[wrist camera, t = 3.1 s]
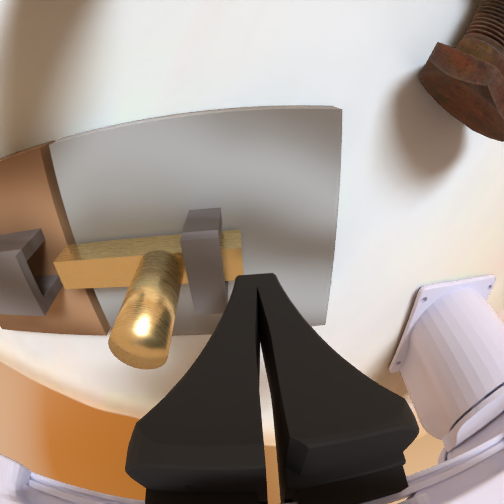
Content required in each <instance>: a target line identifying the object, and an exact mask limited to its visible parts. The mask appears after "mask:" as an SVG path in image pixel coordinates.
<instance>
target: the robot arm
mask: <svg viewBox="0 0 504 504" xmlns="http://www.w3.org/2000/svg"><path fill="white" fill-rule="evenodd" d="M495 280H496V278H495V276H494V275H492V274H491V275H486V276H481V277H475V278H469V279H463V280H458V281H451V282H445V283H439V284H433V285H426V286H423V287H421V288H420V289H419V291H418V294H417V297H416V300H415V303H414V306H413V309H412V311H411V314H410V317H409V320H408V322H407V325H406V328H405V330H404V333H403V336H402V338H401V341H400V343H399V346H398V348H397V350H396V353H395V355H394V358H393V360H392V362H391V364H390V367H389V371H390V373H396V372H400V374H401V376H402V379H403V381H404V383H405V386H406V388H407V391H408V393H409V396H410V398H411V400H412V403H413V406H414V408H415V411H416V413H417V416H418V418H419V421H420V423H421V425H422V426H423V428H424V429H425V430H426V431H427V432H428V433H429V434H430V435H432V436H433V437H435V438H437V439H440V440H443V443H444V446H445V448H443V450H442V451H441V453H440V456H439V459H438V465H436V466H433V467H431V468H428V469H426V470H423V471H420V472H418V473H415V474H412V475H409V476H406V475H405V472H404V469H403V465H404V464H405V462H406V460H405V457H404V454H403V451H404V450H405V449H406V448H407V447H408V446H409V445H410V444H411V443H412V442H413V441H414V440H415V438H416V437H417V435H418V433H419V427H418V424H417V421H416V419H415V416H414V414H413V412H412V410H411V409H410V407H409V405H408V403H407V402H406V400H405V399H404V398H402V397H401V396H399V395H397V394H395V393H393V392H392V391H390V390H388V389H386V388H384V387H383V386H381V385H379V384H378V383H376V382H375V381H373V380H372V379H370V378H369V377H367V376H366V375H364V374H363V373H362V372H360V371H359V370H358V369H356V368H355V367H354V366H353V365H351V364H350V363H349V362H347V361H346V360H345V359H344V358H342V357H341V356H340V355H339V354H338V353H337V352H336V351H334V350H333V349H332V348H331V347H330V346H329V345H328V344H327V343H326V342H325V341H324V340H323V339H322V338H321V337H320V336H319V335H318V334H317V333H316V332H315V330H314V329H313V328H312V327H311V326H310V325H309V324H308V322H307V321H306V320H305V319H304V318H303V316H302V315H301V314H300V312H299V311H298V310H297V308H296V307H295V306H294V304H293V303H292V302H291V300H290V299H289V297H288V296H287V294H286V292H285V291H284V289H283V288H282V286H281V284H280V282H279V280H278V278H277V276H276V275H275V274H274V273H264V274H250V275H238V276H237V277H236V278H235V283H234V287H233V290H232V293H231V296H230V299H229V301H228V304H227V306H226V308H225V311H224V313H223V315H222V317H221V319H220V321H219V323H218V325H217V327H216V329H215V331H214V333H213V335H212V336H211V338H210V340H209V341H208V343H207V345H206V346H205V348H204V349H203V351H202V352H201V354H200V355H199V357H198V358H197V359H196V361H195V362H194V363H193V365H192V366H191V367H190V369H189V370H188V371H187V373H186V374H185V375H184V376H183V378H182V379H181V380H180V381H179V382H178V383H177V384H176V385H175V386H174V388H173V389H172V390H171V391H170V392H169V393H168V394H167V395H166V396H165V397H164V398H163V399H162V400H161V401H160V402H159V403H158V404H157V405H156V406H155V407H154V408H153V409H151V410H150V411H149V412H148V413H147V414H146V415H145V416H144V417H142V418H141V419H140V420H139V421H138V422H137V423H136V425H135V428H134V430H133V433H132V436H131V440H130V442H129V446H128V451H127V458H126V466H125V471H126V473H127V474H128V475H129V476H130V477H131V478H132V479H134V480H135V481H137V482H138V483H140V484H141V485H142V486H144V487H145V488H146V498H145V501H141V500H135V499H129V498H123V497H118V496H113V495H108V494H104V493H100V492H95V491H91V490H87V489H83V488H80V487H76V486H72V485H69V484H66V483H63V482H59V481H56V480H53V479H50V478H47V477H45V476H42V475H39V474H36V473H34V472H31V471H30V470H29V469H28V468H26V467H25V466H23V465H21V464H20V463H18V462H16V461H14V460H12V459H10V458H8V457H5V456H3V455H1V454H0V504H268V500H267V481H266V466H265V455H264V454H265V453H264V441H263V430H262V419H261V407H260V395H259V374H260V343H261V348H262V353H263V358H264V363H265V368H266V373H267V378H268V383H269V388H270V393H271V399H272V408H273V418H274V429H275V440H276V450H277V462H278V472H279V485H280V498H281V504H388V503H392V502H394V501H398V500H401V499H403V498H406V497H408V498H407V499H406V501H403V502H401V503H398V504H504V323H503V322H502V320H501V319H500V318H499V316H498V315H497V314H496V312H495V311H494V310H493V309H492V307H491V306H490V305H489V303H488V302H487V299H488V297H489V295H490V292H491V290H492V288H493V285H494V283H495Z"/></svg>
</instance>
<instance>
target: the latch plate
mask: <svg viewBox="0 0 504 504" xmlns="http://www.w3.org/2000/svg"><path fill="white" fill-rule="evenodd" d="M341 143H342V109H339V108H336V107H333V106H308V105H296V106H259V107H242V108H228V109H217V110H207V111H198V112H189V113H182V114H174V115H168V116H161V117H155V118H149V119H143V120H138V121H132V122H127V123H122V124H117V125H113V126H108V127H104V128H99V129H95V130H91V131H87V132H83V133H79V134H75V135H72V136H68V137H64V138H62V139H60V140H58V141H56V142H55V140H54V141H51V142H47V143H44V144H41V145H38V146H35V147H32V148H29V149H26V150H23V151H20V152H17V153H14V154H12V155H9V156H6V157H3V158H1V159H0V326H1V328H2V329H7V330H17V331H29V332H42V333H57V334H77V335H107V333H108V330H109V328H110V327H111V329H113V327H114V324H115V321H116V319H117V316H118V313H119V311H120V308H121V306H122V303H123V301H124V298H125V296H126V293H127V291H128V288H129V287H107V288H81V289H65V288H64V286H63V284H62V282H61V279H60V277H59V275H58V272H57V270H56V268H55V265H54V263H53V262H54V261H55V259H56V258H57V257H58V255H59V254H60V253H61V252H62V250H63V249H64V248H65V247H66V245H72V244H81V243H91V242H101V241H111V240H121V239H131V238H142V237H153V236H164V235H176V234H182V235H181V238H180V245H181V250H182V255H183V259H184V264H185V269H186V274H187V278H188V283H187V284H182V285H181V290H180V295H179V300H178V305H177V310H176V315H175V320H174V325H173V330H172V335H201V334H213V333H214V331H215V329H216V327H217V325H218V323H219V321H220V319H221V317H222V315H223V313H224V311H225V308H226V306H227V304H228V301H229V299H230V296H231V293H232V290H233V287H234V283H235V280H234V281H225V279H224V271H223V263H222V256H221V248H220V243H221V231H225V230H239V229H241V240H242V252H243V268H244V275H250V274H264V273H274V274H275V275H276V276H277V278H278V280H279V282H280V284H281V286H282V288H283V289H284V291H285V292H286V294H287V296H288V297H289V299H290V300H291V302H292V303H293V304H294V306H295V307H296V308H297V310H298V311H299V312H300V314H301V315H302V316H303V318H304V319H305V320H306V321H307V322H308V324H309V325H310V326H318V325H325V323H326V316H327V309H328V301H329V294H330V286H331V277H332V269H333V260H334V250H335V240H336V228H337V216H338V203H339V188H340V169H341Z"/></svg>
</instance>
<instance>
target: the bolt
mask: <svg viewBox="0 0 504 504" xmlns="http://www.w3.org/2000/svg"><path fill="white" fill-rule="evenodd" d="M420 80H421V81H422V83H423V85H424V87H425V88H426V90H427V91H428V93H429V94H430V95H431V96H432V97H433V98H434V99H435V100H436V101H437V102H438V103H439V104H440V105H441V106H442V107H443V108H444V109H445V110H447V111H448V112H449V113H450V114H451V115H453V116H454V117H455V118H457V119H458V120H459V121H461V122H462V123H463V124H465V125H466V126H467V127H469V128H470V129H471V130H473V131H475V132H477V133H480V134H482V135H484V136H486V137H489V138H491V139H495V140H498V141H501V142H503V141H504V0H481V1H480V3H479V6H478V8H477V10H476V12H475V14H474V16H473V19H472V21H471V22H470V25H469V27H468V29H467V30H466V33H465V35H464V37H463V39H461V40H460V41H459V42H458V44H457V46H456V48H452V47H450V46H447V45H444V44H442V43H439V42H437V44H436V46H435V48H434V50H433V51H432V53H431V55H430V57H429V59H428V61H427V62H426V64H425V66H424V68H423V71H422V73H421V75H420Z"/></svg>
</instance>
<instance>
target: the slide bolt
mask: <svg viewBox="0 0 504 504" xmlns="http://www.w3.org/2000/svg"><path fill="white" fill-rule="evenodd" d="M181 235H182V234H176V235H164V236H153V237H142V238H131V239H121V240H111V241H101V242H91V243H81V244H72V245H66V247H65V248H64V249H63V250H62V252H61V253H60V254H59V255H58V257H57V258H56V259H55V261H54V262H53V263H54V265H55V268H56V270H57V272H58V275H59V277H60V279H61V282H62V284H63V286H64V288H65V289H81V288H107V287H129V288H128V291H127V293H126V296H125V298H124V301H123V303H122V306H121V308H120V311H119V313H118V316H117V319H116V321H115V324H114V327H113V329H112V332H111V335H110V338H109V341H108V344H109V348H110V350H111V352H112V353H113V354H114V356H115V357H117V358H118V359H119V360H120V361H122V362H123V363H125V364H127V365H129V366H132V367H135V368H140V369H155V368H158V367H160V366H162V365H163V364H164V363H165V362H166V361H167V358H168V352H169V346H170V341H171V336H172V330H173V325H174V320H175V315H176V310H177V305H178V300H179V295H180V290H181V285H182V284H187V283H188V278H187V274H186V269H185V264H184V259H183V255H182V250H181V245H180V238H181ZM220 248H221V256H222V263H223V271H224V279H225V281H234V280H235V278H236V277H237V276H238V275H244V268H243V252H242V240H241V229H239V230H225V231H221V243H220Z"/></svg>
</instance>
